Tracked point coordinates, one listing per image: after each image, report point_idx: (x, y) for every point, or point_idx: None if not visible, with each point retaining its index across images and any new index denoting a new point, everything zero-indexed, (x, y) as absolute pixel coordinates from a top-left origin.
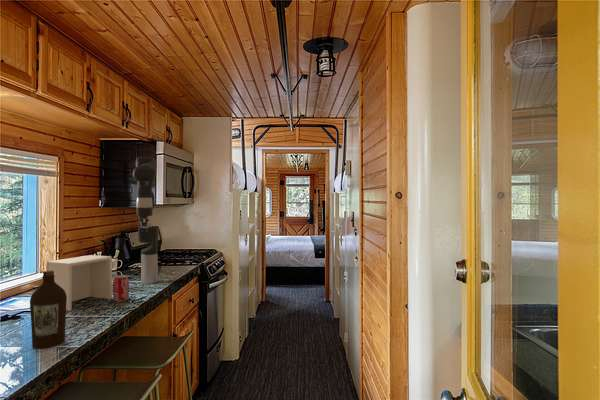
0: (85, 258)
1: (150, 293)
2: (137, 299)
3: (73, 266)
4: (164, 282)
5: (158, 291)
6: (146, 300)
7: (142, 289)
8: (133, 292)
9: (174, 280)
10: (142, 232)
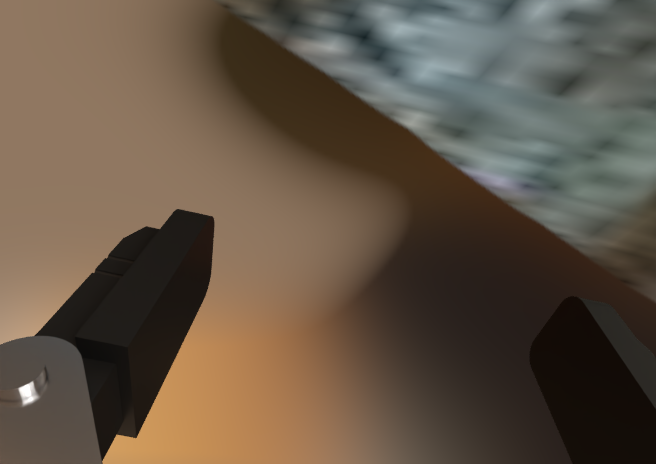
0: None
1: (445, 109)
2: (350, 6)
3: None
4: (649, 237)
5: (459, 157)
6: (296, 50)
7: (588, 92)
8: (554, 21)
9: (644, 286)
10: (83, 334)
